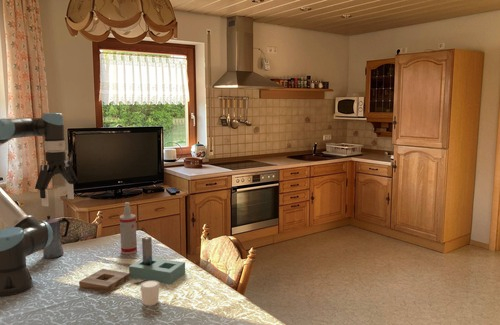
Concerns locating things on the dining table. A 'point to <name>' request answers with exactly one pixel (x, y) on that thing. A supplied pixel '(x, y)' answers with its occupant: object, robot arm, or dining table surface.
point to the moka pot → (55, 238)
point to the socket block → (100, 284)
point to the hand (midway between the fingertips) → (58, 202)
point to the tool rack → (158, 270)
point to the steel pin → (147, 250)
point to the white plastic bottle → (128, 231)
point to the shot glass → (150, 292)
